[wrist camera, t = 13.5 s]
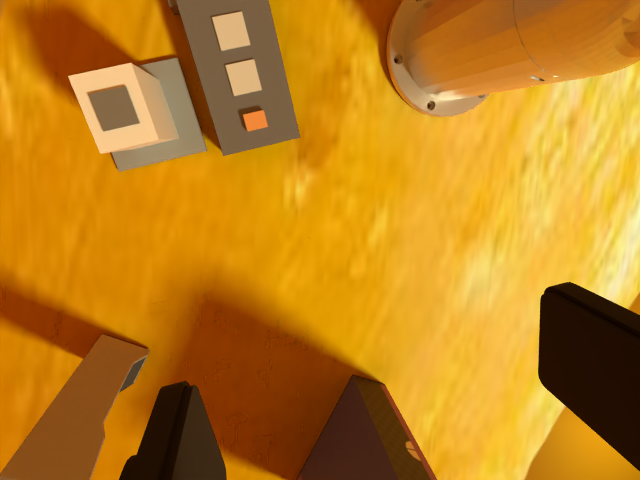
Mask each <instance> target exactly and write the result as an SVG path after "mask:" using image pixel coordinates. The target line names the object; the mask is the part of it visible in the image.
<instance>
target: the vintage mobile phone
mask: <svg viewBox="0 0 640 480" xmlns="http://www.w3.org/2000/svg"><path fill="white" fill-rule="evenodd" d="M149 352H150V350H148V349H146V348H143V347H140V346H137V345H134V344H131V343H128V342H125V341H122V340H119V339H116V338H113V337H110V336H107V335H104V334H102V335H101V336H100V337H99V339H98V340H97V341H96V343H95V344H94V345H93V347H92V348H91V350H90V351H89V352H88V354H87V355H86V356H85V358H84V359H83V361H82V362H81V363H80V365H79V366H78V367H77V369H76V370H75V372H74V373H73V374H72V376H71V377H70V378H69V380H68V381H67V383H66V384H65V385H64V387H63V388H62V389H61V391H60V392H59V394H58V395H57V396H56V398H55V399H54V400H53V402H52V403H51V405H50V406H49V407H48V409H47V410H46V411H45V413H44V414H43V416H42V417H41V418H40V420H39V421H38V422H37V424H36V425H35V427H34V428H33V429H32V431H31V432H30V434H29V435H28V436H27V438H26V439H25V440H24V442H23V443H22V445H21V446H20V447H19V449H18V450H17V451H16V453H15V454H14V456H13V457H12V458H11V460H10V461H9V462H8V464H7V465H6V467H5V468H4V469H3V471H2V472H1V473H0V480H91V477H92V474H93V471H94V468H95V465H96V462H97V459H98V457H99V454H100V451H101V448H102V445H103V442H104V439H105V431H104V421H105V419H106V417H107V415H108V413H109V411H110V409H111V407H112V405H113V403H114V401H115V399H116V397H117V395H118V393H120V392H121V391H123V390H124V389H126V388H127V387H129V386H130V385H132V384H134V382H135V380H136V378H137V376H138V374H139V372H140V370H141V368H142V366H143V364H144V362H145V360H146V358H147V356H148V354H149Z"/></svg>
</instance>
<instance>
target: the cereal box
mask: <svg viewBox="0 0 640 480" xmlns="http://www.w3.org/2000/svg"><path fill="white" fill-rule="evenodd" d="M296 480H437V479H436V477H435V475H434V473H433V471H432V469H431V468H430V466H429V464H428V462H427V460H426V459H425V457H424V455H423V453H422V451H421V450H420V448H419V446H418V444H417V442H416V440H415V439H414V437H413V435H412V433H411V431H410V430H409V428H408V426H407V424H406V422H405V420H404V419H403V417H402V415H401V413H400V411H399V410H398V408H397V406H396V404H395V402H394V400H393V399H392V397H391V395H390V393H389V391H388V390H387V388H386V386H385V384H382V383H379V382H375V381H372V380H369V379H365V378H362V377H359V376H355V375H352V377H351V378H350V380H349V382H348V384H347V386H346V388H345V390H344V391H343V393H342V395H341V397H340V399H339V401H338V403H337V404H336V406H335V408H334V410H333V412H332V414H331V416H330V418H329V419H328V421H327V423H326V425H325V427H324V429H323V431H322V432H321V434H320V436H319V438H318V440H317V442H316V444H315V446H314V447H313V449H312V451H311V453H310V455H309V457H308V459H307V460H306V462H305V464H304V466H303V468H302V470H301V472H300V473H299V475H298V477H297V479H296Z"/></svg>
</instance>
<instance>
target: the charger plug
mask: <svg viewBox="0 0 640 480" xmlns="http://www.w3.org/2000/svg"><path fill="white" fill-rule="evenodd" d="M68 78H69V80H70V82H71V85H72V87H73V89H74V92H75V94H76V97H77V99H78V101H79V104H80V106H81V109H82V111H83V113H84V116H85V118H86V120H87V123H88V125H89V128H90V130H91V132H92V135H93V137H94V139H95V142H96V144H97V147H98V149H99V151H100V154H101V153H109V152H116V151H124V150H131V149H137V148H141V147H145V146H150V145H154V144H158V143H162V142H166V141H170V140H175V139H179V136H178V133H177V130H176V127H175V125H174V122H173V119H172V116H171V113H170V110H169V107H168V104H167V101H166V98H165V96H164V93H163V90H162V87H161V84H160V81H159V80H158V79H157V78H155V77H153V76H152V75H150V74H149V73H147V72H145V71H144V70H142V69H140V68H139V67H137V66H136V65H134V64H132V63H127V64H123V65H118V66H113V67H108V68H104V69H99V70H94V71H89V72H85V73H80V74H75V75H71V76H68Z"/></svg>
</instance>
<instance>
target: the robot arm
mask: <svg viewBox="0 0 640 480" xmlns="http://www.w3.org/2000/svg"><path fill="white" fill-rule="evenodd" d="M386 57H387V66H388V70H389V73H390V77H391V80H392V82H393V84H394V86H395V88H396V90H397V92H398V93H399V94H400V96H401V97H402V98H403V100H404V101H405V102H406V103H408V104H409V105H410V106H411V107H412V108H414V109H415V110H417V111H419V112H421V113H423V114H426V115H429V116H434V117H451V116H456V115H460V114H463V113H465V112H468V111H470V110H472V109H474V108H475V107H476V106H478V105H479V104H480V103H482V102H483V101H484V100H485V99H486V98H487V97H488V96H489V95H490V94H492V93H498V92H504V91H510V90H516V89H522V88H528V87H534V86H540V85H546V84H552V83H558V82H564V81H570V80H576V79H582V78H587V77H592V76H598V75H603V74H607V73H611V72H614V71H617V70H620V69H623V68H625V67H628V66H630V65H632V64H634V63H636V62H638V61H640V0H417V1H416V0H402V2H401V3H400V5H399V7H398V8H397V10H396V11H395V14H394V16H393V19H392V21H391V24H390V27H389V31H388V36H387V45H386ZM394 58H395V59H396V60H397V63H395V62H394ZM427 104H429V108H428V107H427ZM538 375H539V379H540V381H541V383H542V384H543V386H544V387H545V388H546V389H547V390H548V391H550V392H551V393H552V394H553V395H554V396H555V397H556V398H557V399H559V400H560V401H561V402H562V403H563V404H564V405H565V406H566V407H568V408H569V409H570V410H571V411H572V412H573V413H574V414H576V415H577V416H578V417H579V418H580V419H581V420H582V421H584V422H585V423H586V424H587V425H588V426H589V427H590V428H591V429H592V430H594V431H595V432H596V433H597V434H598V435H599V436H600V437H601V438H603V439H604V440H605V441H606V442H607V443H608V444H609V445H611V446H612V447H613V448H614V449H615V450H616V451H617V452H619V453H620V454H621V455H622V456H623V457H624V458H625V459H626V460H627V461H629V462H630V463H631V464H632V465H633V466H634V467H635V468H637V469H638V470H639V471H640V315H638V314H636V313H634V312H632V311H630V310H628V309H626V308H624V307H622V306H620V305H618V304H615V303H613V302H611V301H609V300H607V299H605V298H603V297H601V296H599V295H597V294H595V293H593V292H591V291H588V290H586V289H584V288H582V287H580V286H578V285H576V284H574V283H571V282H566V283H562V284H558V285H554V286H551V287H548V288H546V290H545V291H544V294H543V295H542V296H541V300H540V332H539V364H538ZM119 480H227V478H226V468H225V464H224V461H223V458H222V455H221V452H220V450H219V447H218V444H217V441H216V438H215V435H214V432H213V430H212V427H211V424H210V421H209V418H208V415H207V412H206V410H205V407H204V404H203V401H202V398H201V395H200V393H199V390H198V387H197V386H196V385H192V386H190V385H189V383H188V382H187V381H183V382H179V383H175V384H172V385H168V386H164V387H162V388H161V389H160V391H159V393H158V396H157V399H156V402H155V405H154V407H153V410H152V413H151V416H150V419H149V421H148V424H147V427H146V430H145V433H144V436H143V438H142V441H141V444H140V447H139V450H138V452H137V455H133V456H131V457H130V458H129V459H128V460H127V462H126V464H125V466H124V468H123V470H122V473H121V476H120V478H119Z"/></svg>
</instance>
